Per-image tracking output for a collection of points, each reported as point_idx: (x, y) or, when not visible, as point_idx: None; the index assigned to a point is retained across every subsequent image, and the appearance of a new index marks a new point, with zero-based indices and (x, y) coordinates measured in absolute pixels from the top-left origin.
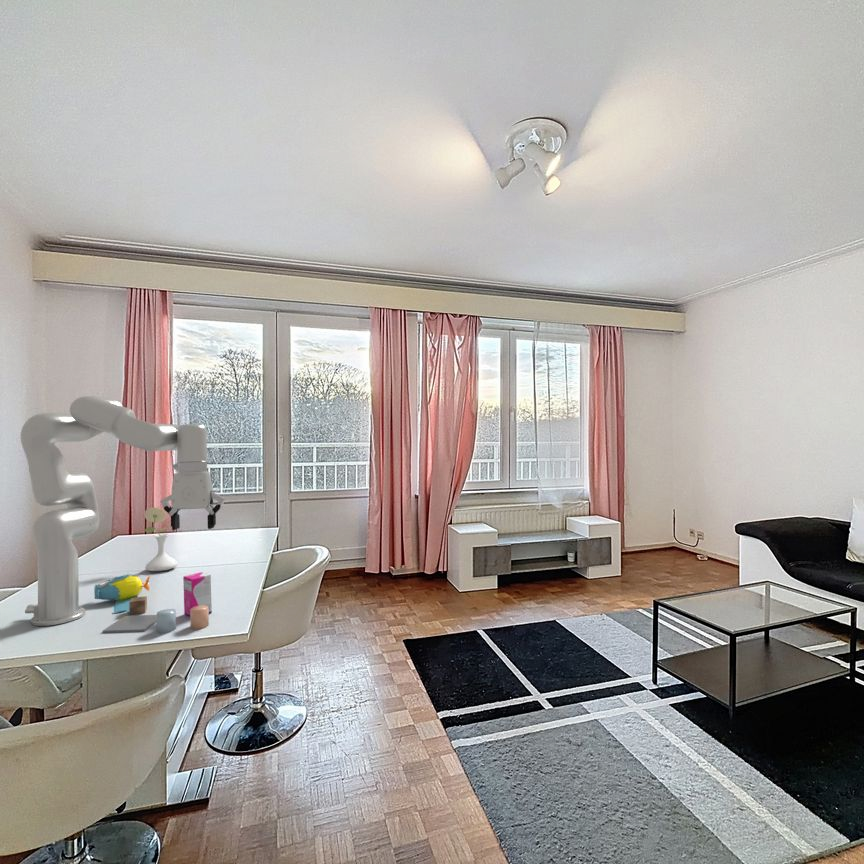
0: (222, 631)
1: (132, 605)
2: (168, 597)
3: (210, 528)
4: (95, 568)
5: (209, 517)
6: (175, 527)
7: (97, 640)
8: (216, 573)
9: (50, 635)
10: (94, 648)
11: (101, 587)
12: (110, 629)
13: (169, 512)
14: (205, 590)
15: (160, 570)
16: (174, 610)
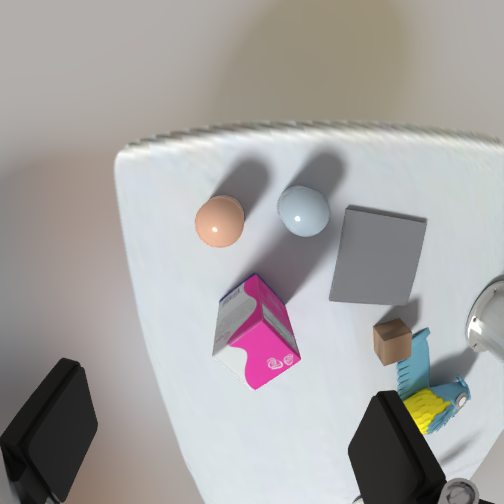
0: (158, 169)
1: (403, 330)
2: (343, 406)
3: (65, 363)
4: None
5: (15, 420)
6: (376, 412)
7: (420, 181)
8: (278, 493)
9: (490, 234)
10: (410, 137)
11: (461, 393)
12: (415, 227)
13: (475, 500)
14: (227, 321)
15: None
16: (286, 219)
